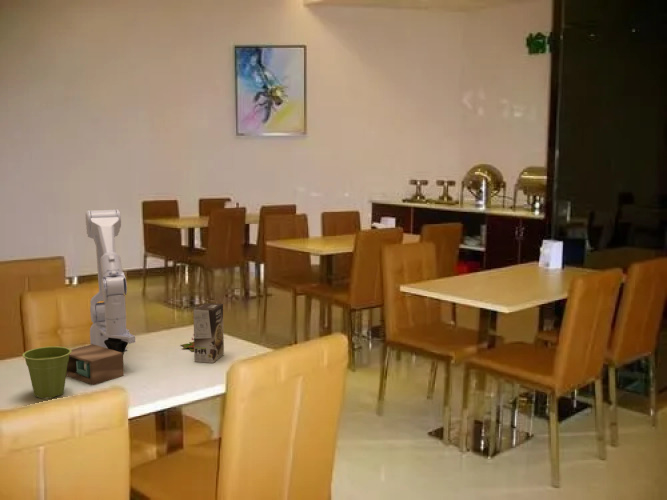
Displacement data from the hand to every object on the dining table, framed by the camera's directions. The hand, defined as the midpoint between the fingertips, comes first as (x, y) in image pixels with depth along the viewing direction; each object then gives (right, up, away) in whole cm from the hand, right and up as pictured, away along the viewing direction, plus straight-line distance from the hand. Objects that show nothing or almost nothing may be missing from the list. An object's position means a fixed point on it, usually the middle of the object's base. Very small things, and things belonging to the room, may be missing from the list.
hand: (117, 363), depth 214 cm
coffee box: (+25, 0, +10) cm, 27 cm away
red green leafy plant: (+19, +1, +22) cm, 29 cm away
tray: (-4, -2, -5) cm, 7 cm away
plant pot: (-11, -5, -21) cm, 25 cm away
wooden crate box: (-5, -2, -6) cm, 8 cm away
